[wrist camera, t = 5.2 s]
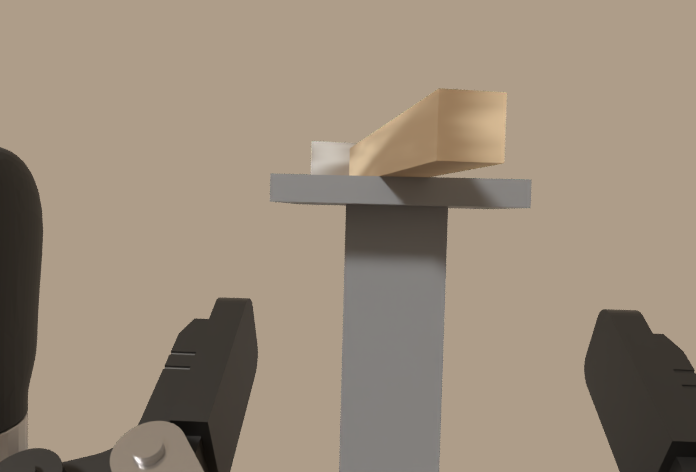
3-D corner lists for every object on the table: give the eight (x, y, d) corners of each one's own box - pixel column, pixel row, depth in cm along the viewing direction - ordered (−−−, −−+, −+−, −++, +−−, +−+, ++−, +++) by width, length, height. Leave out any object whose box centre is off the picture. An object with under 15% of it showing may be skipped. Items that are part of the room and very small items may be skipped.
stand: (259, 738, 33) (270, 173, 31) (290, 597, 45) (299, 184, 43) (508, 756, 32) (531, 179, 31) (472, 608, 44) (488, 188, 43)
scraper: (363, 157, 21) (366, 72, 20) (310, 183, 42) (311, 142, 42) (571, 165, 22) (575, 85, 22) (416, 187, 44) (417, 147, 43)
